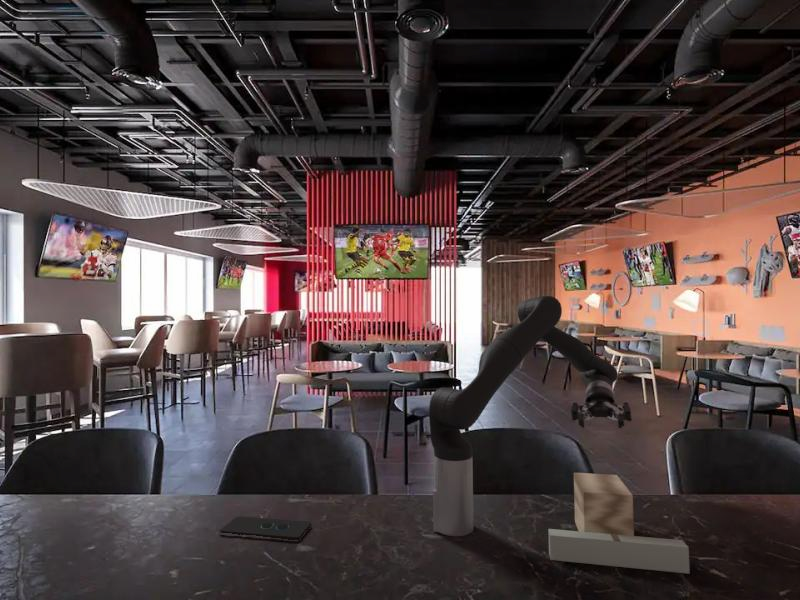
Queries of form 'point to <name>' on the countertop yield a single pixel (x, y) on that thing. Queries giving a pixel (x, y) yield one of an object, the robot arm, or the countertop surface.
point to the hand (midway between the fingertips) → (601, 424)
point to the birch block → (603, 504)
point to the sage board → (619, 550)
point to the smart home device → (267, 527)
